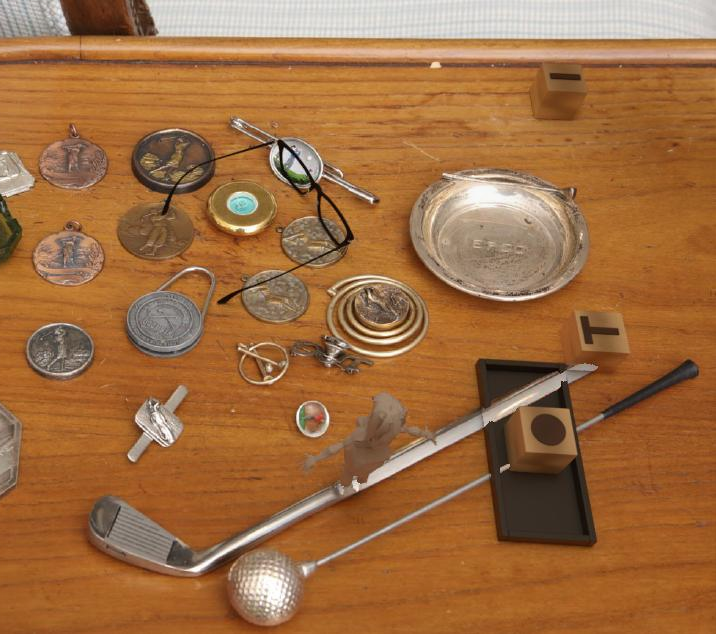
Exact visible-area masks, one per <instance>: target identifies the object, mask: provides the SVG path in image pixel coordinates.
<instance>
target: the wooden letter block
mask: <svg viewBox="0 0 716 634" xmlns="http://www.w3.org/2000/svg"><path fill="white" fill-rule="evenodd" d="M558 333H559V338H560V343H561V349H562V354H563V359H564V365H565V366H566V365H570V366H571V365H577V364H584V363H586V364H591V365H592V364H593V365H595V366H598V368H597V369H596V370H595V371H593V372H592V373H603V374H604V373H605V374H613V373H614V372H615V371H616V370H617V369H618V368H619V367H620V366H621V364H623V362H624V361H625V360H626V359H627V358H628V357H629V355H630V354H631V350H630V344H629V340H628V336H627V331H626V327H625V323H624V319H623V315H622V312H614V311H612V312H611V311H598V310H597V311H596V310H578V309H577V310H576V309H574V310H573V312H571V314H570V316H569V317H568V318H567V319H566V321H565V323H564V324H563V325H562V327H561V328H560V329H559V331H558Z"/></svg>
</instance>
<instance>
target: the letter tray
mask: <svg viewBox="0 0 716 634" xmlns="http://www.w3.org/2000/svg"><path fill="white" fill-rule="evenodd" d="M474 366H475V374H476V383H477V390H478V399H479V405H480V407H481V406H482V407H484V408H485V409H486V408H488V407H490V406H491V401H492V400H494V399H496V398H499V397H501V396H503V395H505V394H508V392H510V391H512V390H514V389H518V388H519V387H522V386H524V385H527V384H530V383H531V382H532V381H535V380H536V379H538V378H540V377H543V376H545V375H547V374H549V373H552V372H555V371H558V372H559V373H560V374H561V373H563V372H564V371H566V365H565V362H553V361H552V362H551V361H550V362H549V361H534V360H532V361H531V360H514V359H500V358H498V359H497V358H482V357H481V358H480V357H479V358H478V360H476V363H475V364H474ZM528 406H530V407H546V408H563V409H569V411H570V416H571V422H572V427H573V432H574V438H575V443H576V449H577V454H578V455H577V456H576V457H575V458H574V459H573V460H572V461H571V462H570V463H569V464H568V465H567V466H566V467H565V468H564V469H563V470H562V471H561V472H560V473H559V474H549V473H532V472H516V471H509V469H507V470H505V471H503V472H502V473H500V467H502V466H504V465H506V464H508V457H507V450H506V443H505V435H504V428H503V426H504V425H505V424H506V422H507V421H508V420H509V419H510V417H511V416H512V415H513V413H512V414H510V415H508V416H506V417H504V418H502V419H500V420H498V421H497V422H493V421H491V422H490V421H489V423H488V424H487V425H486V426H485V427H484V428H483V427H482V429H483V437H484V444H485V451H486V459H487V468H488V469H487V470H488V474H489V473H490V474H491V478H490V477H489V481H490V482H489V483H490V492H491V499H492V506H493V515H494V522H495V531H496V537H497V541H498V542H511V543H512V542H513V543H526V544H541V545H543V544H544V545H558V546H559V545H560V546H575V547H587V548H588V547H589V548H591V547H593V546H595V545H596V544H597V543H598V537H597V532H596V527H595V521H594V517H593V512H592V505H591V500H590V495H589V490H588V484H587V478H586V472H585V468H584V462H583V458H582V452H581V447H580V446H581V445H580V440H579V434H578V430H577V425H576V419H575V413H574V409H573V404H572V398H571V392H570V388H569V382H568V380H567V381H564V382H563V381H561V387H560V388H559V389H558V390H557V391H554V392H552V393H550V394H549V395H547V396H545V397H543V398H542V399H540V400H538V401H536V402H534V403H532V404H531V405H528Z"/></svg>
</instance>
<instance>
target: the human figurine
mask: <svg viewBox="0 0 716 634" xmlns="http://www.w3.org/2000/svg"><path fill="white" fill-rule="evenodd" d="M371 401H372V403H373V405H372V408H371V411H370V412H369V414H368V416H366V415H359V416H358V417H357V418H356V420H355V421H354V423H355V425H356V427H355V429H354V430H353V431H352V432H350V434H349V435H347V436H346V437H344V439H343V440H342V441H341V442H337V443H334V444H330V445H328V446H327V447H325V448H323V450H321V451H320V452H319V453H318V454H316V455H315V456H314V455H311V454H309V453H307V452H305V453H304V456H306V459H305V461H303V462H299V463H298V466H301V467H299V468H298V470H299V471H302V470H303V471H302V474H305V476H308V475H309V472H310V471H311V469H313V467H314V466H315V465H316V464H317V463H318V462H321V461H324V460H327V459H330V458H332V457H333V456H335V455H338V454H339V453H340V452H341V451H342V450H343V461H344V465H343V466H342V471H341V472H342V474H341V475H340V478H339V483H340V484H341V486H344V487H345V488H349V487H352V484H351V483H352V480H353V479H354V478H357V482H358V483H360V484H361V485H362V484H367V483H368V479H369V476H370V475H371V474H372V473H374V472H375V471H376V470H377V469H379V468H382V467H383V466H384V464H385V462H387V461H390V460H391V457H392V455H391V454H392V453H391V446H390V445H391V444H392V442H393V441H394V440H396V439H397V436H398V435H400V434H403V435H404V434H408V435H410V437H413V438H426V439H427V440H429V441H431V442H432V443H433V444H434V446H438V444H437V443H438V441H437V437H436V436H434V435H435V432H431V431H430V430H429V429H428V425H425V426H424V429H421V428H419V427H418V426H417V425H416V426H415V425H414V426H408V425H407V424H406V423H407V415H408V413H409V409H408V408H405V405H404V404H403V403H402V402H400V401H399V399H398V398H397V397H395V396H394V395H391V393H389V392H387V391H382V392H379V393H377V394H375V395H373V396H372V397H371Z"/></svg>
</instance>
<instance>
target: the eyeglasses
mask: <svg viewBox="0 0 716 634" xmlns="http://www.w3.org/2000/svg"><path fill="white" fill-rule="evenodd" d="M271 145H277V147H278V160H279V167H280V170H281V172H282V174H285V175H284V176H285V177H286V179H287V181H288V182H289V183H290V184H291V186H292V187H293V188H294V189H295V190H296V191H297V192H298V193H299V194H300V195H301V196H304V195H305V196H307V197H308V196H309V194H310V193H311V192H312V191H313V190H315V191H316V194H317V195H316V199H314V200H313V204H312V205H313V207H314V208H316V210H317V217H318V220H319V222H320V224H321V225H322V227H323V229H324V231H325V232H326V234H327V235H328V237H330V240H332V241H333V243H334V244H335V245H336V247H334V248H332V249H331V250H328V251H326V252H324V253H322V254H319V255H318V256H316V257H314V258H312V259H310V260H307V261H306V262H303V263H301V264H299V265H297V266H295V267H292V268H291V269H288V270H287V271H284V272H282V273H280V274H278V275H276V276H273V277H271V278H270V277H269V278H268V279H266V280H263V281H260V282H256V283H254V284H252V285H249V286H246V287H243V288H239V289H237V290H235V291H233V292H230V293H228V294H227V295H225V296H223V297H222V298H220V299H218V300H217V301H216V304H221V305H223V304H226V303H228V302H229V301H230V300H231V299H234V297H236V296H237V295H239V294H241V293H242V292H245V291H247V290H249V289H252V288H255V287H258V286H260V285H264V284H265V283H267V282H270V281H272V280H276V279H278V278H280V277H282V276H285V275H287V274H288V273H292V272H293V271H294V270H297V269H300V268H302V267H304V266H306V265H308V264H310V263H312V262H314V261H317V260H319V259H321V258H323V257H325V256H327V255H329V254H331V253H333V252H336V251H338V250H341V249H342V248H344V247H347V246H349V245H350V244H352V243H353V242H355V235H354V233H353V231H352V229H351V228H350V226H349V224H348V223H349V222H347V220H346V217H344V215H343V213H342V212H341V210H340V209H339V208H338V206H337V204H335V202H334V201H333V200H332V199H331V198H330V197H329V195H327V194H326V193H325V192H324V191H323V189H322V187H321V185H320V184H319V183H317V182H316V181H315V179H314V178H313V175H312V174H311V172H310V170H309V169H308V167H307V166H306V164H305V163H304V161H303V160H302V159H301V157H300V156H299V155H298V154H297V153H296V151H295V150H293V148H292V147H291V146H290V145H288V144H287V143H286V141H284V140H283V139H282V138H280V139H279V138H278V139H274V140H271V141H268V142H264V143H261V144H258V145H254V146H251V147H248V148H245V149H242V150H241V149H240V150H238V151H235V152H231V153H228V154H225V155H222V156H219V157H216V158H213V159H209V160H207V161H204V162H201V163H200V164H197V165H195V166H194V167H192V168H191V169H189V170H188V171H186V172H185V173H183V175H182V176H181V177H179V179H178V180H177V181H176V182H175V184H174V186H173V187H171V188H172V189H171V190H170V192H169V193H168V195H167V198H166V200H165V202H164V205H163V208H162V210H161V215H162V216H163V215H165V214H166V213H168V210H169V207H170V205H171V201H172V199H173V196H174V194H175V191H176V188H177V187H178V186H179V184H180V183H181V182H182V180H183V179H184V178H185V177H186V176H188V174H190V173H191V172H193V171H194V170H196V169H197V168H199V167H202V166H205V165H206V164H209V163H212V162H216V161H218V160H222V159H225V158H227V157H232V156H235V155H238V154H239V155H240V154H242V153H245V152H249V151H253V150H255V149H260V148H263V147H267V146H271ZM284 150H287V151H288V152H289V153H290V154H291V155H292V157H294V159H295V160H296V161H297V162H298V164H299V165H300V166H301V167H302V169H303V170H304V172H305V174H306V176H307V178H308V180H309V182H310V185H309V188H307V190H306V191H302V190H301V189H300V188H299V187H298V185H296V184H295V182H294V181H293V180H292V178H291V177H290V176H289V174H288V173H287V171H286V169H285V166H284V159H283V158H284V156H283V155H284ZM284 169H285V170H284ZM287 176H289V177H290V178H291V179H290V178H289V177H287ZM322 198H323V199H324V200H325V201H326V202H327V203H329V205H330V206H331V208H333V210H334V211H335V213H336V214H337V216H338V217H339V219H340V221H341V222H342V224H343V226H344V228H345V231H346V236H345V238H344V239H343V241H341V242H339V241H338V240H337V239H336V238H335V236H334V235H333V234H332V233H331V231H330V229H329V228H328V227H327V225H326V223H325V221H324V218H323V217H322V210H321V203H322Z"/></svg>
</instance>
